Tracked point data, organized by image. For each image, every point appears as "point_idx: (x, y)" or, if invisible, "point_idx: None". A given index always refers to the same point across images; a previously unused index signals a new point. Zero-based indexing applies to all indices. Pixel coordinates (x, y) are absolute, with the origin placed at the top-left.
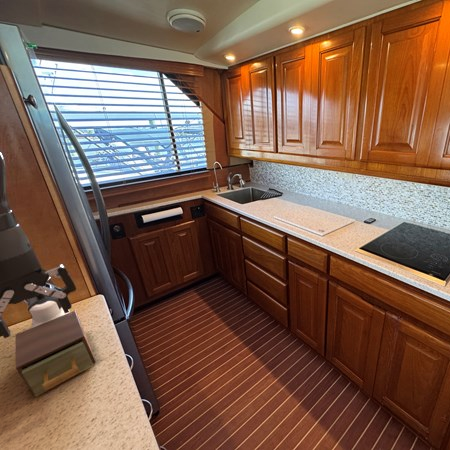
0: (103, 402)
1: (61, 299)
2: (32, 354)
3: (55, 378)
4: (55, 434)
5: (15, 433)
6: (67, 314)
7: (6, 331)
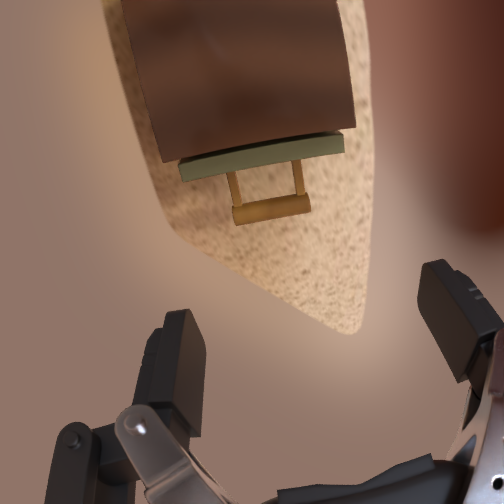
0: (323, 247)
1: (467, 377)
2: (196, 118)
3: (261, 216)
4: (248, 263)
5: (179, 218)
6: None
7: (202, 376)
